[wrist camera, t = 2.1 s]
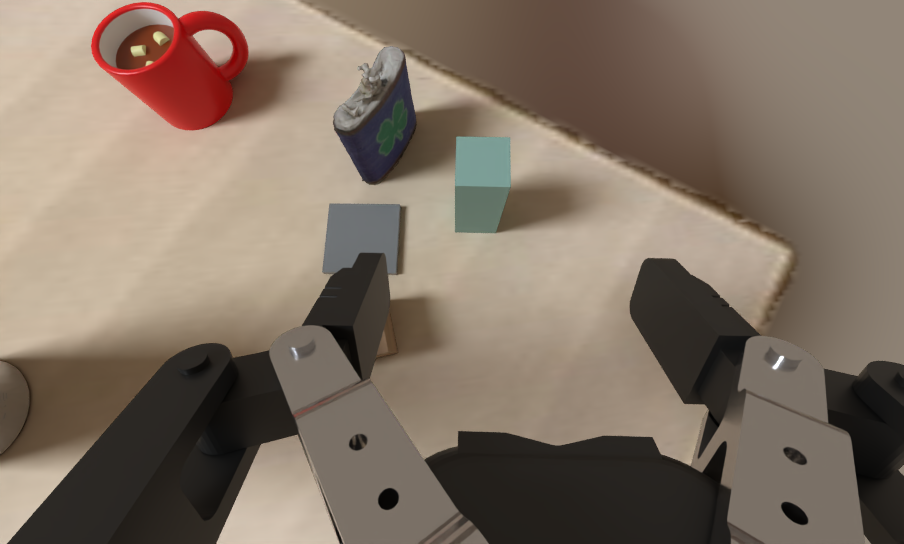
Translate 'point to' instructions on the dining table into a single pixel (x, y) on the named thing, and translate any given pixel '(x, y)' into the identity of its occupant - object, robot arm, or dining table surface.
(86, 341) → the dining table surface
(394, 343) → the walnut block
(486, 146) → the teal post
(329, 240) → the slate coaster
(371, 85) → the flask
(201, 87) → the mug
